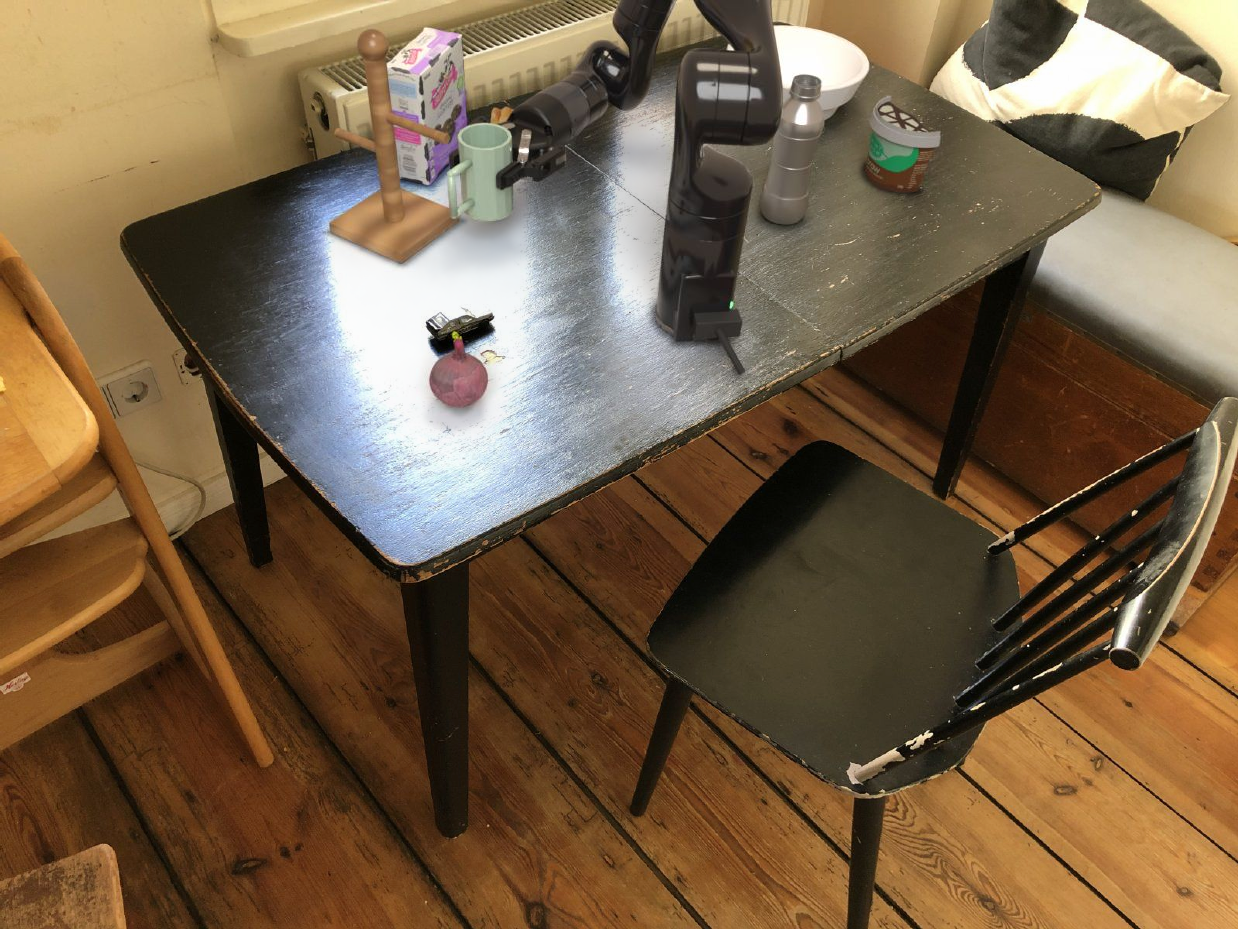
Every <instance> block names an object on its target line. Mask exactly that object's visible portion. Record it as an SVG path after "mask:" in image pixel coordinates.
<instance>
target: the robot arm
mask: <svg viewBox="0 0 1238 929" xmlns="http://www.w3.org/2000/svg"><path fill="white" fill-rule="evenodd" d="M677 1H678V0H618V3H617V5H616V8H615V10H614V12H613V16H612V22H611V23H612V27H613V29H614V31H615V32H616V33H617V34H618V36H619V37H620V38H621V40H622V41H623V42H624V43H625V46H626V47H627V49H628V52H627V51H626V50H624V49H623V48H622V47H620V46H619V45H617V44H616V43H614V41H611V40H608V39H598V40H595V41H592V43H590V44H589V45H588V46H587V47H586V49H585V51H584V52H583V54H582V56H581V57H580V59H579V61H578V63H577V64H576V65H575V66H574V68H573V69H572V70H571V72H569V74H568V75H566V76H564V77H563V78H561V79H560V80H559V81H557V82H556V83H554V84H551V85H549V86H546V87H544V88H543V89H541V90H540V91H538V92H537V93H535V94H534V95H532V96H531V97H529V98H528V99H526V100H525V101H524V102H521V103H520V104H519V105H517V106H516V107H515V108H513V109H514V110H513V111H512V113H511V114H510V116H509V118H508V119H507V121H505V122H502V123H498V124H497V125H500V126H503V127H505V128H506V129H507V130H509V131H510V133H511V136H512V159H513V162H511V163H510V164H509V165H507V166H506V167H505V168H503V169H502V170H500V171H499V172H498V173H497V174H496V187H497V188H498V189H500V190H504V189H505V188H508V187H511V186H512V185H513V186H514V185H515V184H517V183H518V182H519V181H520V180H521V181H525V180H527V179H528V178H531V180H532V182H534V183H541V182H542V181H544V180H545V179H547V178H549V177H550V176H551V175H553V174H555V173H557V172H558V171H560V170H561V169H563V168H564V167H565V166H566V159H567V152H566V151H567V150H566V149H567V148H566V146H568V144H570V143H571V142H573V141H574V140H575V139H576V138H577V137H578V136H579V135H580V134H581V133H582V132H583V131H584V130H585V129H587V128H588V127H589V126H591V125H592V124H593V123H595V122H597V121H598V120H599V119H601V117H602V116H603V115H604V114H605V113H606V112H607V109H608V107H609V104H610V105H612V106H613V107H615V108H616V109H618V110H619V111H621V112H629V111H632V110H634V109H637V108H638V107H639V106H640V105H641V104H642V103H643V102H644V101H645V99H646V97H647V95H648V94H649V90H650V87H651V83H652V80H653V73H654V68H655V67H654V66H655V61H656V55H657V50H658V46H659V42H660V38H661V35H662V33H663V32H664V29H665V27H666V24H667V22H668V21H669V18H670V16H671V14H672V13H673V12H672V11H673V9H674V7H675V6H676V3H677ZM692 1H693V3H694V5H695V7H696V8H697V10H698V11H699V13H700V14H701V15H702V16H703V18H704V19H705V20H706V21H707V22H708V24H709V25H710V26H711V27H712V28H713V29H714V31H716V32H717V33H718V35H720V36H721V37H722V38H723V39H724V41H726V42H727V44H730V45H731V47H732V48H733V49H734V50H727V49H719V48H718V49H715V48H691V49H689V50H688V51H687V52H686V53H685V54H684V55H683V57H682V59H681V61H680V64H679V66H678V70H677V71H678V72H677V76H676V77H677V79H676V84H675V86H676V87H675V98H674V99H675V100H674V127H673V129H674V130H673V146H672V156H671V163H670V164H671V166H670V175H669V180H668V191H667V198H666V199H667V201H666V210H665V219H664V228H663V237H662V245H661V246H662V247H661V257H660V266H659V276H658V285H657V286H658V287H657V298H656V299H657V300H656V304H655V308H654V318H655V321H656V323H657V324H658V327H660V328H661V329H662V330H663V331H664V332H666V333H667V334H669V335H671V336H672V337H673V339H674V342H676V343H680V342H681V343H682V342H702V341H703V342H704V341H715V340H716V341H717V340H718V341H719V342H720V344H721V345H722V346H721V347H723V350H724V351H725V353H726V355H727V356H728V358H729V360H730V362H731V364H732V365H733V367H734V369H735V370H736V372H737V374H738V375H739V376H740V375H742V374H744V373H745V372H746V369H745V367H744V365H743V364H742V362H741V360H740V359H739V357H738V355H737V353H736V351H735V350H734V348H733V346H732V345H731V343H730V341H729V338H740V337H741V331H742V327H743V319H742V316H741V313H740V310H739V309H738V308H735V309H733V306H734V300H735V293H736V286H737V280H738V274H739V267H740V264H741V263H740V262H741V256H742V251H743V245H744V240H745V234H746V227H747V223H748V218H749V210H750V204H751V199H752V194H753V187H754V182H753V181H754V180H753V176H752V174H751V172H750V170H749V169H748V167H747V166H746V165H745V164H744V163H742V162H741V161H740V160H738V159H736V158H735V157H733V156H731V155H728V154H726V153H724V152H722V151H720V150H717V149H716V148H714V147H713V146H712V145H714V146H715V145H717V146H718V145H719V146H732V147H733V146H734V147H735V146H736V147H737V146H738V147H756V146H758V147H759V146H763V145H766V144H768V143H769V142H771V141H772V140H773V137H774V136H775V134H776V132H777V130H778V128H779V125H780V121H781V116H782V107H783V84H782V74H781V67H780V60H779V54H778V49H777V43H776V37H775V32H774V26H775V25H774V20H773V6H772V0H692ZM476 123H487V117H486V116H483V115H479V116H477V117H475V118H474V119H473V120H471V121H470V122H469V123H467V124H468V125H467V126H469V125H472V124H476ZM465 127H466V126H465ZM458 133H459V132H458ZM458 133H457V135H458ZM457 144H458V139H457ZM458 164H459V153H458V148H457V149H456V150H454V151H453V152H451V153H450V154H449V164H448V165H449V170H451V169H452V168H454V167H455V166H457V165H458Z"/></svg>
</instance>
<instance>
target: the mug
mask: <svg viewBox="0 0 1238 929" xmlns="http://www.w3.org/2000/svg"><path fill="white" fill-rule="evenodd" d="M457 139H458V153H459V164H458V165H457V166H455V167H454V168H452V169H451V170H450V169H449V170H448V171H447V172H446V183H447V194H448V195H447V196H448V197H447V198H448V208H449V209H450V217H451V218H452V219H456V218H457V217H459V218H460V216H462V215H464V214H465V215H466V216H467V217H468V218H470V219H473V220H475V221H480V222H496V221H497V222H498V221H502V220H503V219H505V218H508V217H509V216H510V215H511V214H512V213H513V211H514V204H515V199H514V198H515V197H514V196H515V194H514V193H515V192H514V184H513V185H512V186H511V187H508V188H505V189H504V190H500V189H498V188H497V187H496V174H497V173H498V172H499V171H500V170H502V169H503V168H505V167H506V166H507V165H509V164H510V163H511V162H513V159H512V136H511V133H510V131H509V130H507V129H506V128H505V127H503V126H500V125H497V124H491V122H486V123H476V124H472V125H469V126H466V127H464V128H463V129H461V130H460V131H459V133H458V135H457ZM458 176H459V179H460V192H461V203H460V204H459V205H458V194H457V181H456V177H458Z"/></svg>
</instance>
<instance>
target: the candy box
mask: <svg viewBox="0 0 1238 929" xmlns="http://www.w3.org/2000/svg"><path fill="white" fill-rule="evenodd" d="M463 43H464V42H463V34H462V33H457V32H453V31H448V30H443V29H437V28H433V27H428V26H427V27H426V26H425V27H424V28H423V29H422V30H421V32H420V33H419V34H417V35H416V36H415V37H414V38H413V39H411V41H410V42H409V43H407V44H406V45H405V46H404V47H402V49H400V50H399V51H398V52H397V53H396V54H395V55H393V57H392V58H390V59H389V60H388V61H386V62H387V71H388V80H389V88H390V97H391V105H392V113H393V114H396V115H398V116H401V117H404V118H406V119H409V120H412V121H414V122H417V123H419V124H422V125H425V126H427V127H430V128H433V129H435V130H438V131H441V132H443V133H446V134H448V135H449V136H450V140H449V142H448V144H443V143H440V142H438V141H435V140H433V139H430V138H427V137H425V136H422V135H420V134H417V133H414V132H412V131H409V130H407V129H404V128H401V127H399V126H396V125H394V131H395V140H396V148H397V157H398V166H399V174H400V180H404V181H409V182H412V183H418V184H421V185H425V186H431V185H432V184H433V183H434V181H435V180H437V178H438V177H439V176H440V174H441V173H442V172H443V171H444V170H445V169H446V168H447V166H449V165H450V164H449V154H450V153H451V152H453V151H454V150H456V149H457V148H458V144H457V133H458V132H459V131H460V130H461V129H463V128H464V127H465V126H467V125H468V124H469V123H468V110H467V94H466V77H465V74H466V73H465V60H464V45H463Z"/></svg>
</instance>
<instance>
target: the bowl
mask: <svg viewBox="0 0 1238 929" xmlns="http://www.w3.org/2000/svg"><path fill="white" fill-rule="evenodd" d="M773 26H774V32H775V37H776V43H777V49H778V54H779V60H780V67H781V74H782V84H783V102H784V101H785V100H786V99H787V98H789V97H790V96H791V95H790V93H789V91H790V87H791V85H792V80H793V78H794V76H796V75H800V74H809V75H813V76H816V77H818V78H819V79H821V81H822V86H821V90H820V92H821V94H820V98H819V99H817V101H818V103H819V105H820V107H821V109H822V111H823V114H824V121H826V120H828V119H830V118H831V117H832V116H833V115H834V114H835V113H836V111H837V110H838V108H839V107H841V106H843V105H845V104H846V103H848V102H849V101H850V100H851V99H853V97H854V95H855V94H856V93H857V91H858V90H859V88H860V86H861V85H862V83H863V81H864V80H865V78H866V76H867V75H868V73H869V71H870V62H869V60H868V57H867V55H866V54H865V52H864V51H863V50H862V49H861V48H860V47H858V46H857V45H856V44H854V43H853V42H851V41H849V40H847V39H845V38H844V37H841V36H839V35H837V34H834V33H831V32H828V31H824V30H821V29H816V28H813V27H812V28H811V27H805V26H798V25H797V26H796V25H784V24H781V25H780V24H779V25H778V24H777V25H773ZM726 50H734V49H733V48H732V47H731V45H730V44H729V43H727V47H726Z"/></svg>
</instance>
